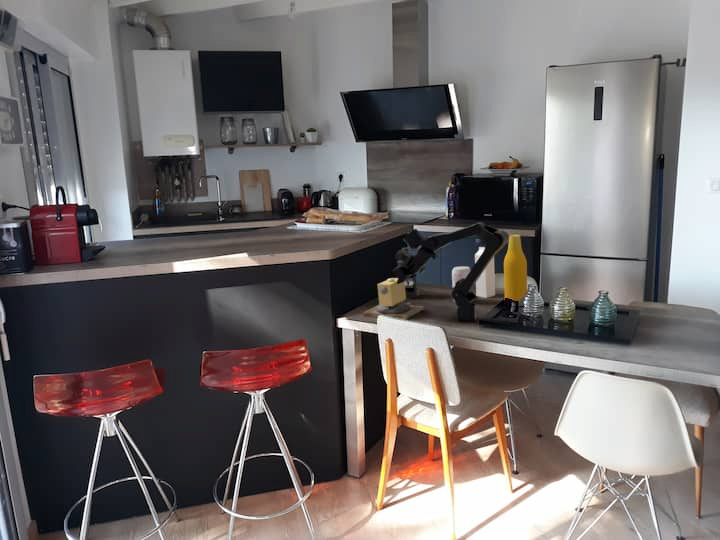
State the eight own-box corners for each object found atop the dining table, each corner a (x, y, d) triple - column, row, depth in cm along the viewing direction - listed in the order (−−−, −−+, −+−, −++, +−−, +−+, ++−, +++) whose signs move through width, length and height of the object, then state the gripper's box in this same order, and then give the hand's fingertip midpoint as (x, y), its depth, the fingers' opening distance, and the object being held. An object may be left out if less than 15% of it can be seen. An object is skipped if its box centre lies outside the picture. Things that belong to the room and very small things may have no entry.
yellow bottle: (516, 308, 232) (515, 238, 226) (500, 304, 239) (498, 236, 234) (532, 304, 236) (531, 234, 231) (515, 300, 244) (513, 233, 238)
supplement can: (472, 298, 252) (470, 265, 249) (472, 303, 244) (471, 269, 241) (453, 299, 253) (451, 266, 250) (453, 304, 245) (451, 270, 243)
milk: (486, 298, 251) (484, 249, 247) (476, 296, 256) (474, 247, 252) (495, 295, 255) (494, 246, 250) (485, 293, 260) (483, 245, 255)
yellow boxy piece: (406, 298, 242) (404, 275, 240) (391, 306, 231) (389, 282, 229) (394, 298, 245) (392, 275, 243) (378, 305, 235) (376, 282, 233)
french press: (424, 295, 263) (421, 246, 259) (410, 300, 257) (407, 250, 253) (405, 292, 272) (402, 245, 268) (391, 297, 266) (388, 248, 261)
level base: (423, 309, 240) (423, 300, 239) (405, 320, 227) (405, 310, 226) (382, 306, 251) (382, 297, 250) (363, 315, 238) (362, 306, 237)
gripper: (418, 239, 236) (396, 264, 245) (396, 247, 221) (373, 273, 229) (436, 259, 234) (413, 283, 242) (415, 268, 218) (391, 293, 227)
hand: (397, 282), depth 235 cm, fingers closed, pressing on yellow boxy piece
